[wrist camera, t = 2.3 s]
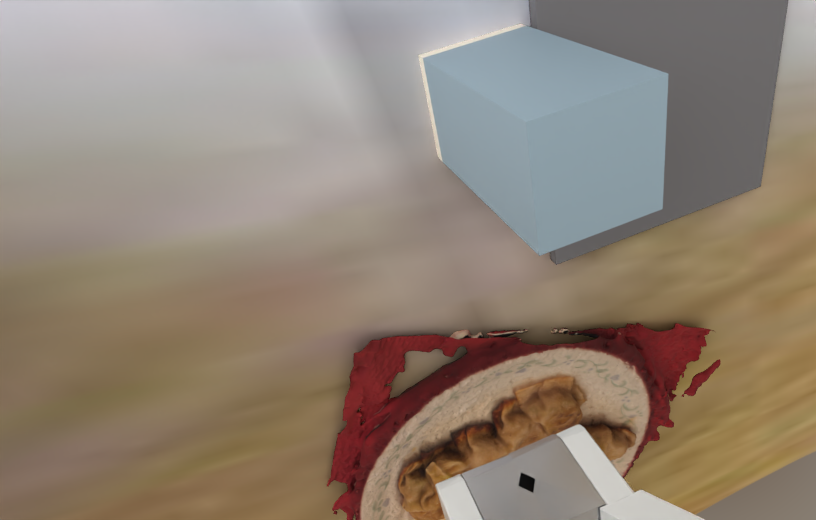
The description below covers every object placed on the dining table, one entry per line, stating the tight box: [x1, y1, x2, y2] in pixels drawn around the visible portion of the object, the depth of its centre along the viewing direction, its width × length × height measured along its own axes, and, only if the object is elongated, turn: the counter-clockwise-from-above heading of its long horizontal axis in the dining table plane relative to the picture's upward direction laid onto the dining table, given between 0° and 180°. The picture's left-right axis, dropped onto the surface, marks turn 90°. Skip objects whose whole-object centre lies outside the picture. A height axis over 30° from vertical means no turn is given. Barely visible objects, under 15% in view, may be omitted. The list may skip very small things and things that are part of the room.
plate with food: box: [327, 323, 720, 520], centre depth 42 cm, size 24×26×4 cm
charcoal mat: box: [529, 0, 788, 265], centre depth 29 cm, size 14×22×1 cm, turn 13°
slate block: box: [418, 24, 668, 256], centre depth 24 cm, size 5×5×10 cm
